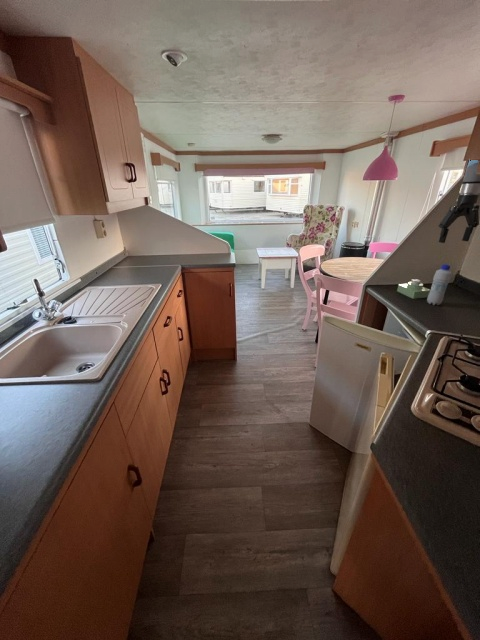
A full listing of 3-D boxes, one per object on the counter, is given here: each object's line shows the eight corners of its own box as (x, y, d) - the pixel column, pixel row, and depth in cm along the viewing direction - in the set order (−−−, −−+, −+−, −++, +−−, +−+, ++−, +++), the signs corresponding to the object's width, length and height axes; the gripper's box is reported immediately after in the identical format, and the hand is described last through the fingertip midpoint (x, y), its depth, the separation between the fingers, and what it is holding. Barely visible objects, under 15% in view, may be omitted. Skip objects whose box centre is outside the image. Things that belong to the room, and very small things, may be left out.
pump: (421, 285, 142) (422, 281, 141) (414, 285, 142) (416, 281, 141) (415, 283, 146) (416, 278, 145) (409, 283, 145) (410, 279, 144)
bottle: (425, 300, 138) (437, 262, 129) (441, 302, 135) (454, 263, 126) (425, 304, 133) (438, 265, 124) (441, 307, 130) (455, 267, 121)
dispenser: (429, 297, 142) (432, 286, 139) (412, 298, 140) (416, 288, 137) (412, 289, 152) (415, 279, 150) (396, 291, 151) (399, 281, 148)
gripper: (483, 193, 127) (467, 239, 136) (438, 194, 123) (425, 241, 132) (499, 193, 120) (482, 241, 129) (453, 195, 116) (438, 244, 125)
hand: (453, 241), depth 131 cm, fingers open, 13 cm apart
